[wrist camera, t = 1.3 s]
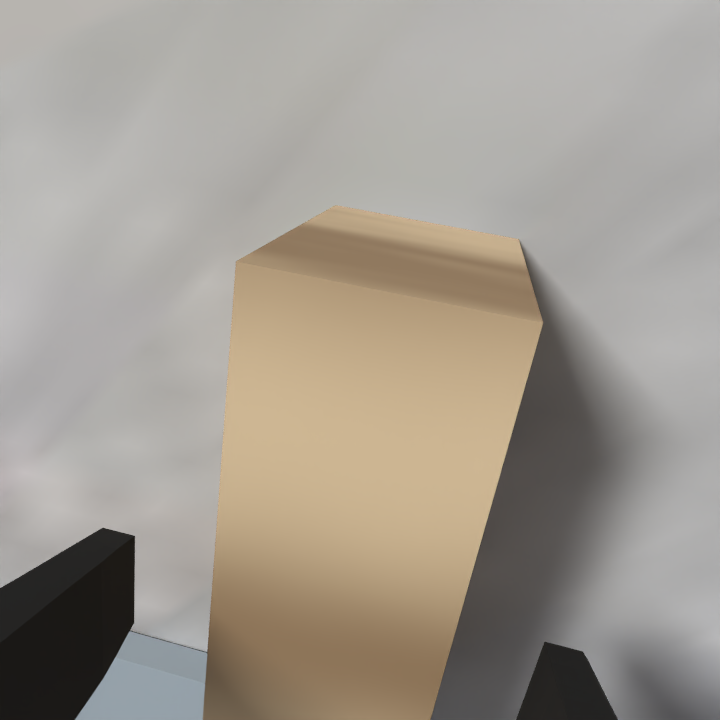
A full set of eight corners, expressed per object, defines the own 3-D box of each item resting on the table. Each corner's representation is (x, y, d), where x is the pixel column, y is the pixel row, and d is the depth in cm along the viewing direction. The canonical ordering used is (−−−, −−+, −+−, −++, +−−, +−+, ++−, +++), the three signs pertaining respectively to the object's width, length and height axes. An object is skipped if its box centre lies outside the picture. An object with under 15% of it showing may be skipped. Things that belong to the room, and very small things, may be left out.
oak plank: (336, 204, 13) (235, 261, 8) (518, 237, 13) (543, 322, 8) (280, 624, 18) (193, 839, 13) (411, 659, 18) (379, 899, 12)
